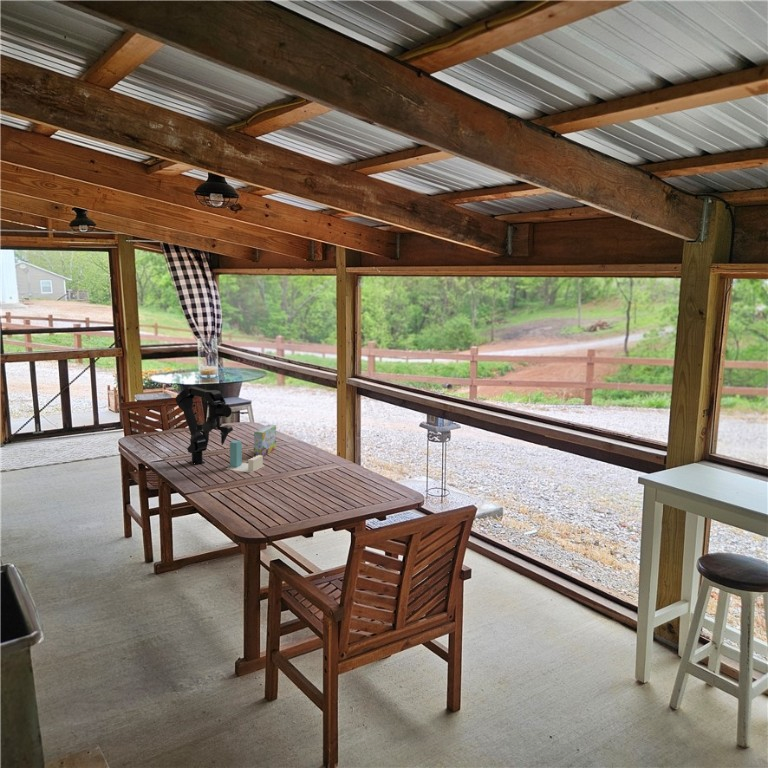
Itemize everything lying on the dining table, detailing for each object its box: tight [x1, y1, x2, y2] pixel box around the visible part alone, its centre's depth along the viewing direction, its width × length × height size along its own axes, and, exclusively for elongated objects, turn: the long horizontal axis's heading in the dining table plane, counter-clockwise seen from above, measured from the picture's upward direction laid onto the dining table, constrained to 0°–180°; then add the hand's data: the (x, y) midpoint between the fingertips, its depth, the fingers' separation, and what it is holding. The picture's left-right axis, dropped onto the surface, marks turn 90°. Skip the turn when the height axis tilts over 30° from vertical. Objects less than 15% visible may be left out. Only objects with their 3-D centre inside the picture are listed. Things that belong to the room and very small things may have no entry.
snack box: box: [253, 424, 277, 458], centre depth 366 cm, size 21×6×15 cm, turn 168°
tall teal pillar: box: [229, 439, 243, 467], centre depth 335 cm, size 4×5×13 cm
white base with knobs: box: [225, 455, 265, 474], centre depth 334 cm, size 15×14×7 cm
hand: (214, 443), depth 334 cm, fingers open, 9 cm apart
